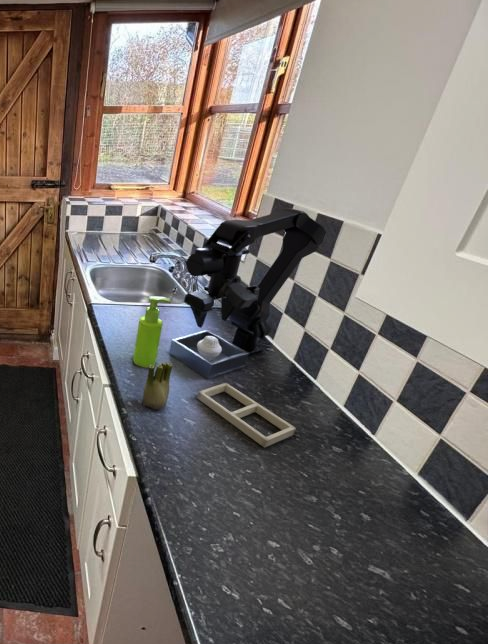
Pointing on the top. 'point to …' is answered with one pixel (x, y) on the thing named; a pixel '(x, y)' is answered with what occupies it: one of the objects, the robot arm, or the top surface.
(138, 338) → the soap dispenser
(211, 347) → the white spiral shell
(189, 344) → the blue-grey square tray
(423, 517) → the top surface
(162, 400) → the fennel bulb
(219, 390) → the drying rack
